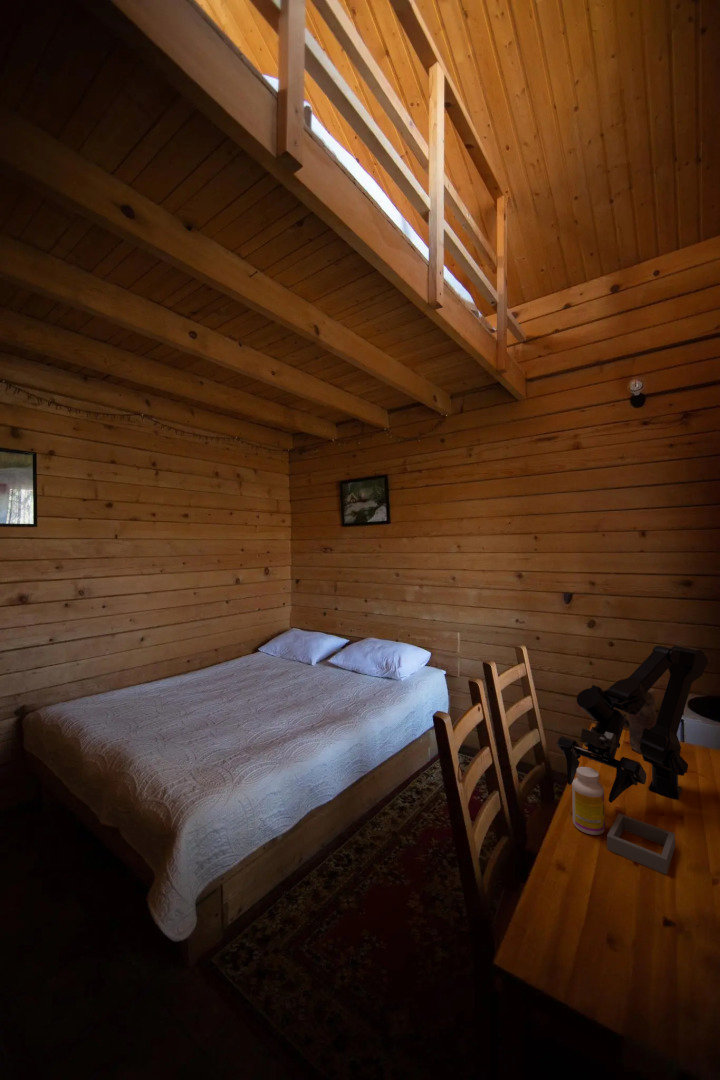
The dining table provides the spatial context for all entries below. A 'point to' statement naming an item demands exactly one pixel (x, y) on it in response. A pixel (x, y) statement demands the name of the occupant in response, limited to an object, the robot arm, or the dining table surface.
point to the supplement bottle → (588, 801)
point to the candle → (642, 721)
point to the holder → (637, 852)
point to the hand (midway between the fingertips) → (588, 792)
